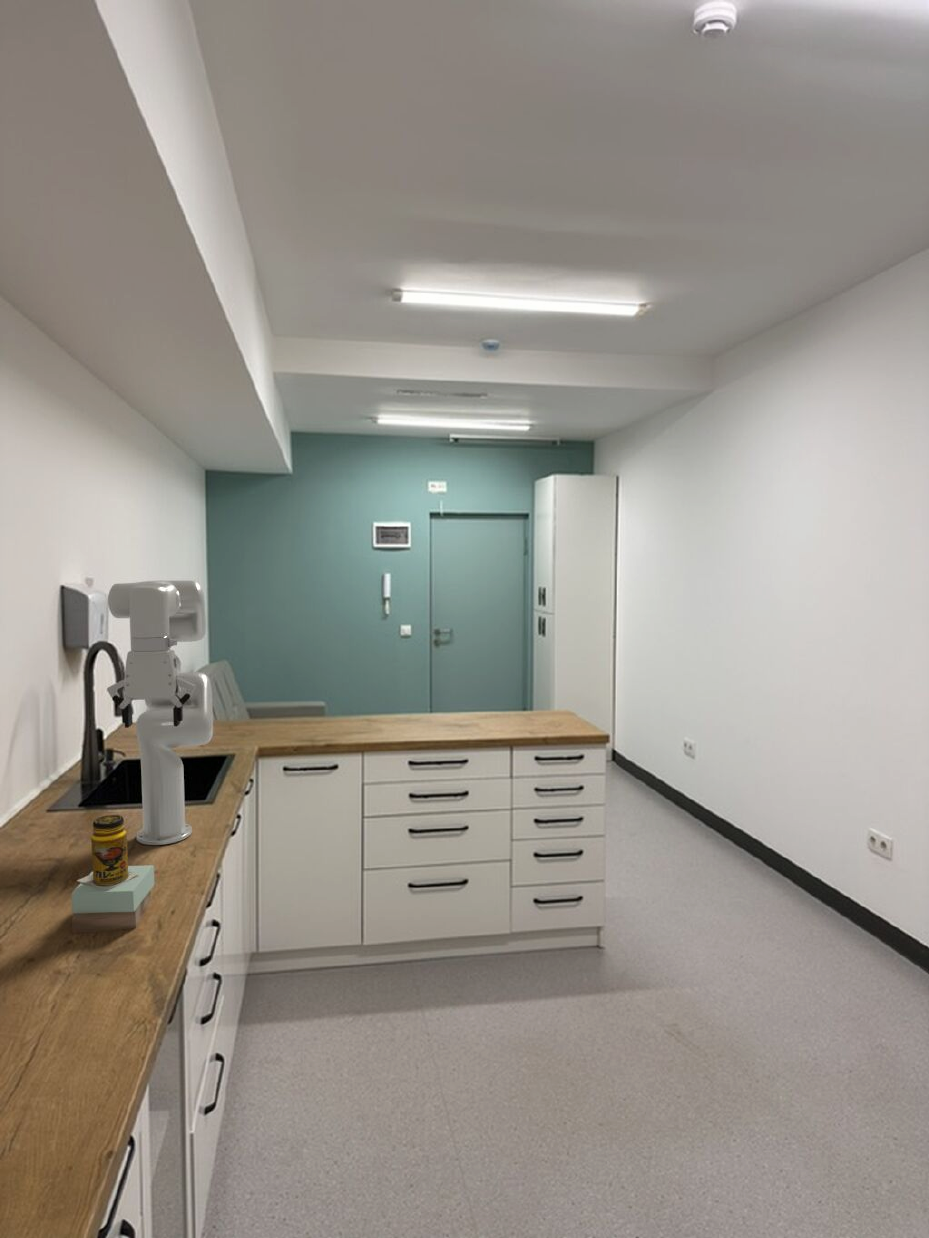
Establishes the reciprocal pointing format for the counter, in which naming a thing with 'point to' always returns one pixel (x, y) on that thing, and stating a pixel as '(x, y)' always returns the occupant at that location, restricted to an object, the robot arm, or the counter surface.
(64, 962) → the counter surface
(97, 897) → the top block
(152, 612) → the robot arm
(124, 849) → the condiment
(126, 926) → the bottom block
